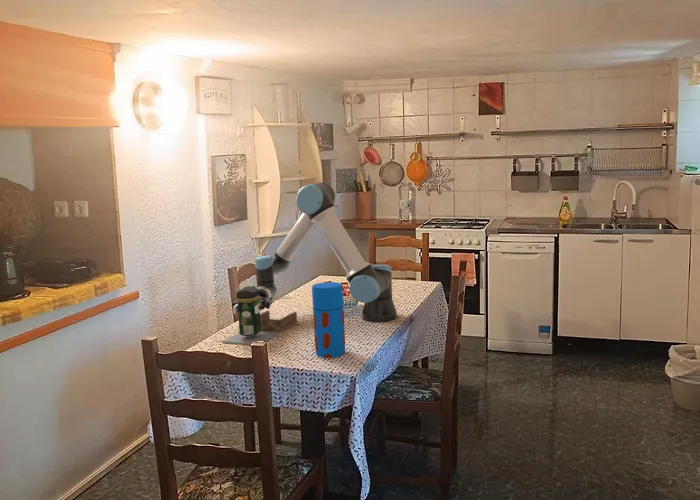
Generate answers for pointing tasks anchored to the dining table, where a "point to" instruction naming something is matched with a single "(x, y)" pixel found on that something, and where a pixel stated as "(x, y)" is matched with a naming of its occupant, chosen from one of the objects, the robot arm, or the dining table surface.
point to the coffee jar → (248, 311)
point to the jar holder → (277, 322)
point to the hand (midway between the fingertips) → (245, 310)
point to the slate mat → (250, 338)
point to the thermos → (328, 319)
